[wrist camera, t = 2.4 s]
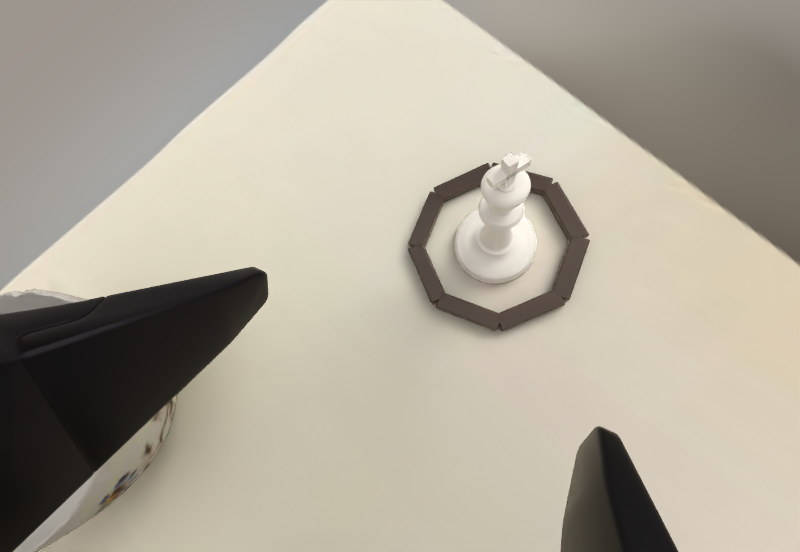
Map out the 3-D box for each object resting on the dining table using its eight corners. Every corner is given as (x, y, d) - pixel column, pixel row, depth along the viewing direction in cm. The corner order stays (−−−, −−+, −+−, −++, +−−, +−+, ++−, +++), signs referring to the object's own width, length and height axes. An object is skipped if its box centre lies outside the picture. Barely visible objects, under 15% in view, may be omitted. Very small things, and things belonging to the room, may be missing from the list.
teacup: (97, 550, 23) (-86, 641, 16) (38, 381, 27) (-134, 387, 19) (288, 403, 23) (198, 422, 15) (202, 254, 27) (95, 210, 19)
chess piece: (439, 236, 24) (417, 150, 14) (503, 193, 24) (525, 77, 14) (484, 299, 22) (494, 250, 13) (553, 253, 22) (615, 170, 13)
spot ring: (453, 352, 22) (452, 352, 21) (391, 211, 25) (389, 207, 24) (614, 284, 21) (618, 282, 21) (532, 146, 24) (533, 141, 24)
